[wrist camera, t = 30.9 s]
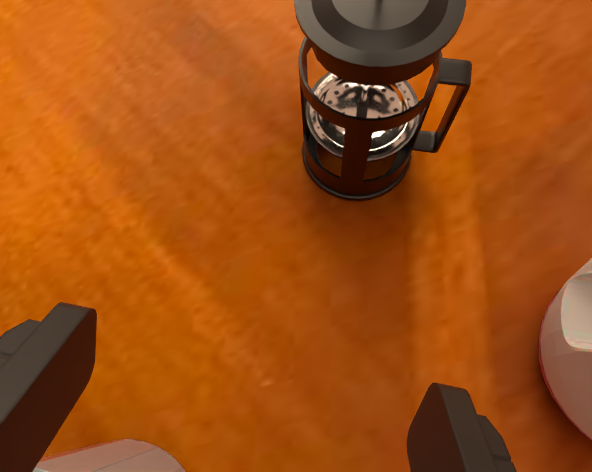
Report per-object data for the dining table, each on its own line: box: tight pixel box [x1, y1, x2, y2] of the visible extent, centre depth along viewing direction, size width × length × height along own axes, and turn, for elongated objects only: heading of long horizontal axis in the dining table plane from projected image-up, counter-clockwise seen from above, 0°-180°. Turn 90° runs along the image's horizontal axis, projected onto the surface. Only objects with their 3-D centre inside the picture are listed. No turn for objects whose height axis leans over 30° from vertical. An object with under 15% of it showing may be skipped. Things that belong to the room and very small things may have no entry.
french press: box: [294, 0, 472, 201], centre depth 29 cm, size 12×9×23 cm
